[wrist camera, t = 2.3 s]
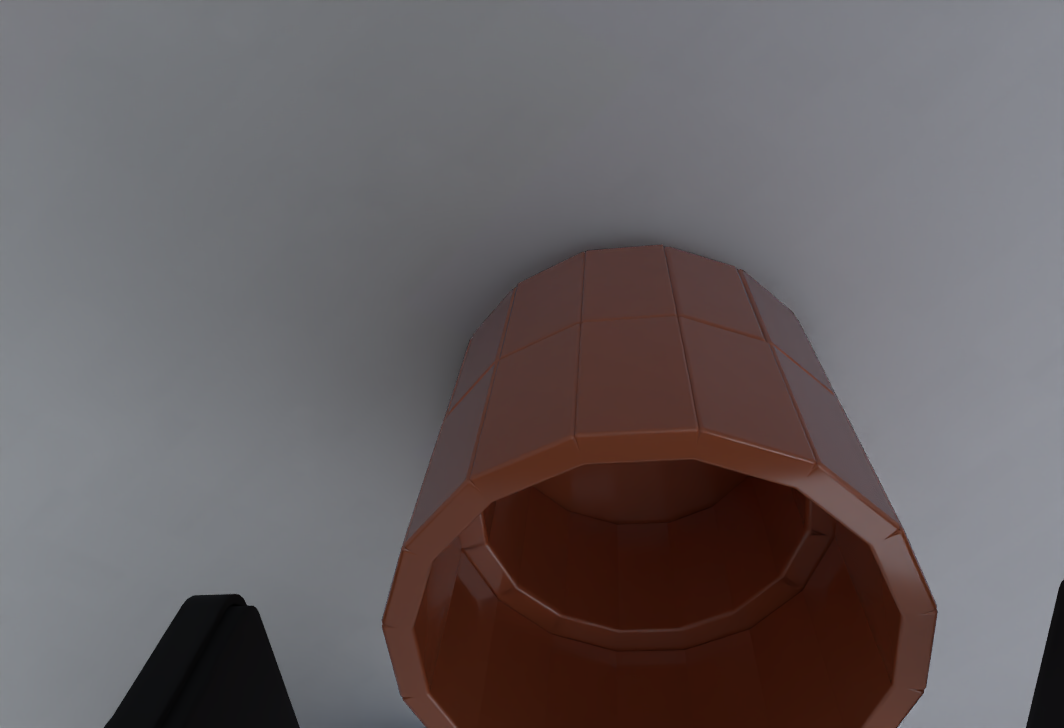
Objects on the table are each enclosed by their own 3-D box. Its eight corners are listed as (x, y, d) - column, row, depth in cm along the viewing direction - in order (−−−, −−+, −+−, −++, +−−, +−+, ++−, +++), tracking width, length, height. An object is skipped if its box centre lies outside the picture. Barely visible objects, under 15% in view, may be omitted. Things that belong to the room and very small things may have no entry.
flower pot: (435, 251, 14) (331, 448, 9) (822, 219, 13) (970, 413, 8) (486, 544, 17) (434, 824, 12) (806, 532, 16) (906, 827, 11)
